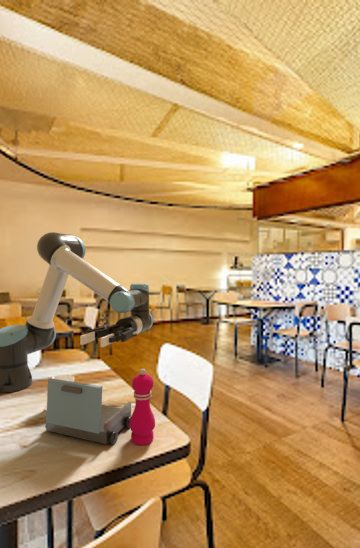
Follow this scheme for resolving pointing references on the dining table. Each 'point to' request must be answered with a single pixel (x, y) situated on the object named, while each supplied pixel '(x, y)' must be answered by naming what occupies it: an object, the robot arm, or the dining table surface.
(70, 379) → the white cup
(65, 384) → the panel
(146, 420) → the pepper mill
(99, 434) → the cart bed
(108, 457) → the dining table surface
